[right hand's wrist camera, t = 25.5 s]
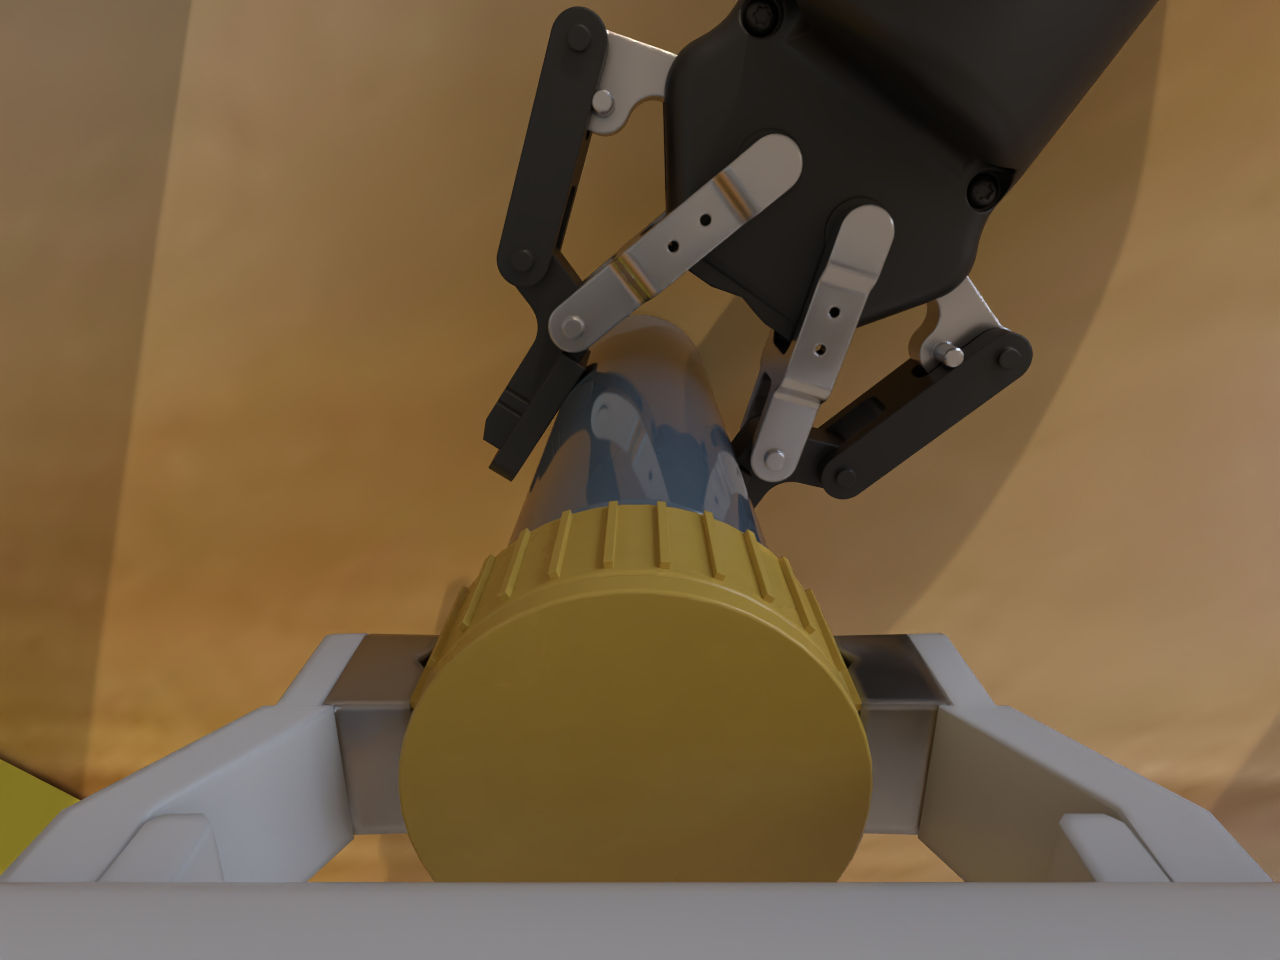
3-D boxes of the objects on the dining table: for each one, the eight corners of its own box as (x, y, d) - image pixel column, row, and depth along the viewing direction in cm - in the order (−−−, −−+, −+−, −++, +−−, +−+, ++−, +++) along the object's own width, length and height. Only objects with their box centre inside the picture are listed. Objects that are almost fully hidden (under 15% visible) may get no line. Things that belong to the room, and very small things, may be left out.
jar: (552, 350, 27) (377, 663, 9) (669, 291, 26) (730, 505, 8) (611, 461, 28) (560, 921, 10) (724, 408, 27) (877, 802, 10)
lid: (386, 750, 11) (324, 886, 9) (535, 427, 9) (504, 497, 7) (716, 876, 12) (734, 1028, 10) (906, 598, 10) (978, 708, 8)
